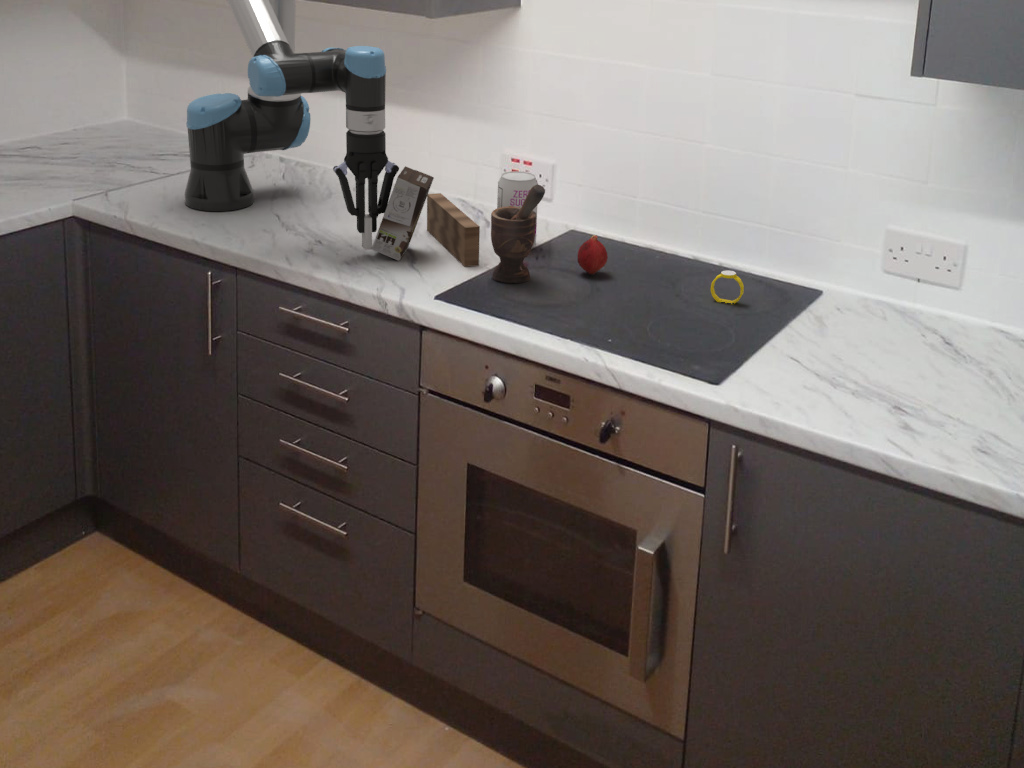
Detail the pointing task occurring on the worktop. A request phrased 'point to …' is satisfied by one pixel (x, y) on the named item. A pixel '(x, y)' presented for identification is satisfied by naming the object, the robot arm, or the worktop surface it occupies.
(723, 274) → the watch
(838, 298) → the worktop surface
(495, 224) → the mortar and pestle
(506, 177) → the supplement can
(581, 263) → the onion
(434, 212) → the wooden board
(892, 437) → the worktop surface
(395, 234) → the coffee box
